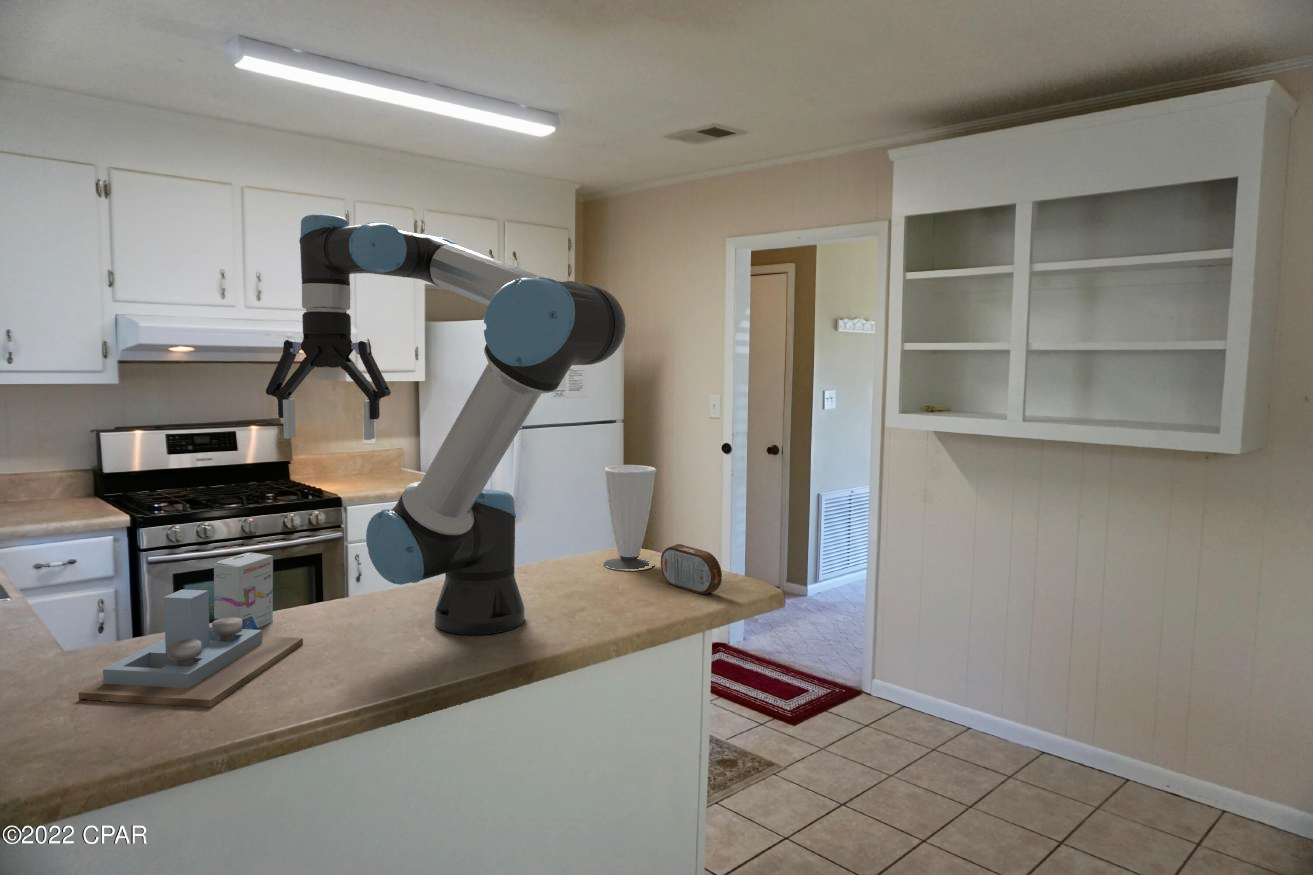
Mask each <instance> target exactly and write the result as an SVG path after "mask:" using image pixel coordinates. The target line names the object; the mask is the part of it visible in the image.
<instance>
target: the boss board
mask: <svg viewBox="0 0 1313 875" xmlns="http://www.w3.org/2000/svg"><path fill="white" fill-rule="evenodd" d="M211 627H212V634H213V635H217V636H220V641H231V642H232V641H234V640H235V634H237V633H239V632H241V631H242V619H241V618H236V617H229V618H222V619H218V620H215V621H212V623H211ZM303 640H304V638H303V637H293V636H275V635H274V636H269V635H262V643H261V644H259V645H258V646H256V647H255V648H253V649H251V650H250V651H248V652H247V653H245V654H243V655H242V656H240V657H239V658H237V659H235V660H234V661H232V662H231V663H229V664H227V665H226V666H224V667H223V668H221V669H219V670H218V671H216V672H215V673H213V674H211V675H210V676H208V677H207V678H205V679H203V680H202V681H200V682H199V683H197V684H195V685H194V686H192V687H191V688H172V687H154V686H136V685H118V684H104V682H103V679H102V680H100V681H97V682H96V683H94V684H92V685H89V686H87V687H86V688H85V689H82V690H80V691H79V692H78V700H79V699H87V700H86V701H91V700H104V701H103V702H109V701H113V702H112V703H114V701H116V702H115V703H127V704H129V703H131V704H146V705H147V704H149V705H162V706H163V705H164V706H165V705H166V706H181V707H199V708H200V707H201V708H212V707H214V706H215V705H216V704H218V703H219V702H221V701H222V700H224V699H225V698H226V697H228V696H229V695H231V694H232V693H234V692H236V691H237V690H238V689H240V688H241V687H242V686H244V685H245V684H247V683H249V682H250V681H251V680H253V679H254V678H256V677H257V676H259V675H261V673H263V672H264V671H267V669H269V668H270V667H272V666H273V665H275V664H276V663H278V662H279V661H280V660H282V659H283V658H285V657H286V656H288V655H289V654H290V653H291V654H292V653H293V651H295V650H296V649H298V648H300V647H301V646H302V645H304V641H303ZM199 655H201V641H199V640H193V639H190V640H181V641H177V642H173V643H171V644H169V645H168V658H169V659H171V660H177V666H191V665H193V664H194V663H193V658H195V657H197V656H199ZM147 668H162V667H157V666H149V667H147ZM106 700H107V701H106Z"/></svg>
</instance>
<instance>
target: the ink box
mask: <svg viewBox="0 0 1313 875" xmlns="http://www.w3.org/2000/svg"><path fill="white" fill-rule="evenodd" d="M273 572H274V556H273V555H272V554H271V555H270V554H264V553H256V552H245V553H242V554H237V555H235V556H231V557H228V558H225V559H221V560H219V561H216V563H214V564H213V575H214V576H213V580H214V581H213V588H214V589H213V595H214V596H213V600H214V601H213V602H214V603H213V609H214V610H213V611H214V612H213V613H214V615H213V616H214V617H213V618H214V619H213V620H214V621H215V620H218V619H222V618H229V617H236V618H241V619H242V629H252V630H259V629H260V628H261V627H264V626H266V625H269V624H271V623H273V621H274V614H273V613H274V612H273V611H274V609H273V608H274V606H273V605H274V602H273V601H274V600H273V598H274V597H273V596H274V592H273V591H274V590H273V587H274V585H273V584H274V583H273V582H274V573H273Z"/></svg>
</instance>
